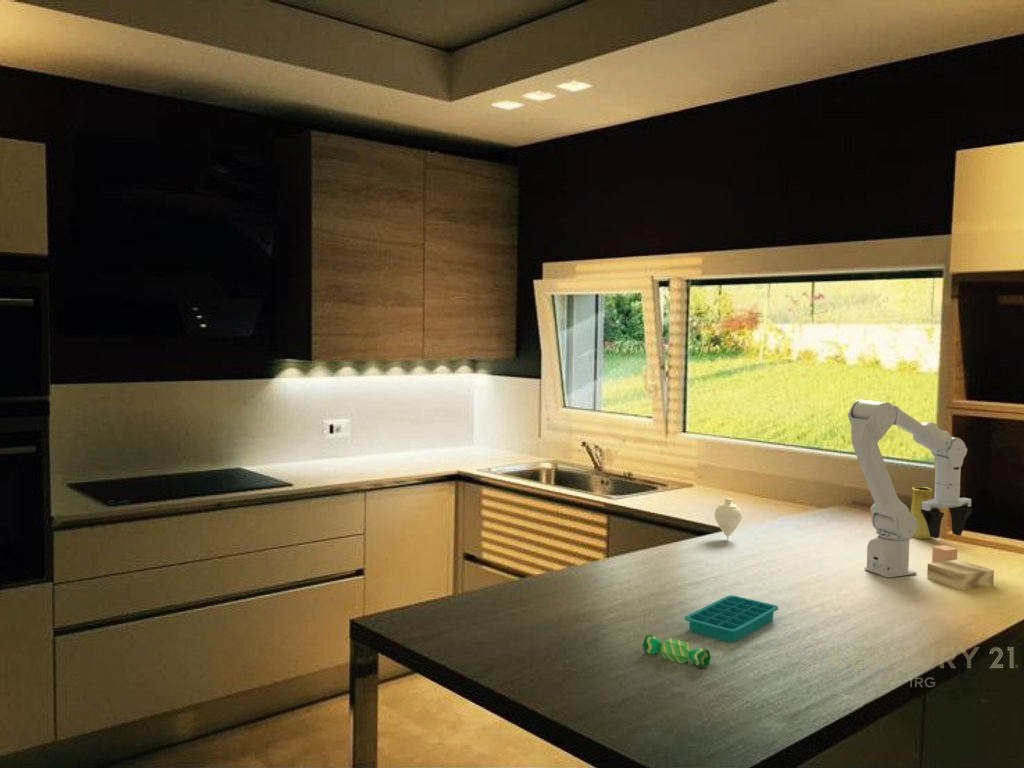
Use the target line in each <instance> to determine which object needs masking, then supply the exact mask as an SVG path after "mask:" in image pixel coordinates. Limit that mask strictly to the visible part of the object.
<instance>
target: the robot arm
mask: <svg viewBox="0 0 1024 768" xmlns="http://www.w3.org/2000/svg"><path fill="white" fill-rule="evenodd" d="M847 417H848V420H849V422H850V431H851V435H850V437H851V438H850V440H851V445H852V448H853V450H854V452H855V455H856V457H857V460H858V463H859V465H860V469H861V470H862V473H863V475H864V478H865V481H866V484H867V486H868V490H869V492H870V493H871V497H872V499H873V502H874V503H873V504H872V505H871V506H870V508H869V510H870V513H871V524H872V527H873V528H874V529H875V531H876V532H875V534H876V535H877V536H876V537H875V538H873V539H870V541H868V543H867V549H866V566H864V570H866V571H868V572H871V573H874V574H876V575H879V576H882V577H885V578H895V577H902V576H903V577H904V576H910V575H917V574H918V573H917V572H918V571H915V570H912V569H909V563H910V562H909V560H910V540H912V539H913V537H912V536H913V535H914V534H915V532H916V530H917V520H916V518H915V517H914V516H913V515H912V514H911V510H910V509H909V507H907V505H906V504H905V503H903V501H902V500H901V499H899V496H898V494H897V492H896V489H895V487H894V484H893V480H892V478H891V475H890V474H889V471H888V468H887V465H886V463H885V460H884V457H883V455H882V452H881V449H880V447H879V445H878V442H879V441H880V440H881V439H883V438H884V437H885V435H886V434H887V432H888V431H889V430H890V429H891V427H893V425H894V426H896V427H898V428H900V429H902V431H906V432H908V433H910V434H911V435H912V438H913V440H914V442H915V443H917V444H918V445H920V446H922V447H924V448H925V449H927V450H929V451H930V453H931V454H932V456H934V457H935V472H934V474H935V475H934V494H933V495H934V498H932V500H928V501H924V502H922V508H921V513H922V514H923V516H924V518H925V520H926V523H927V526H928V530H929V534H930V537H932V538H934V539H939V536H940V531H941V523H942V519H943V517H944V515H945V513H944V512H942V511H940V510H941V509H948V510H949V513H950V518H951V531H952V535H956V536H962V534H963V530H964V527H965V524H966V522H967V520H968V519H969V517H970V516H971V514H972V513H973V508H972V498H968V497H960V495H961V494H960V493H961V491H960V490H961V470H962V469H961V467H962V466H963V464H964V458H965V457H966V456H967V453H968V447H967V446H966V444H965V442H964V440H963V439H961V438H959V437H955V436H951V435H950V432H949V431H947V430H942V429H940V428H939V427H937V424H936V423H935V422H932V421H923V422H920V421H918V420H917V419H915V418H914V417H912V416H911V415H909V414H908V413H906V412H905V411H903V410H902V409H900V407H899V406H897V405H893V404H892V403H891V402H888V401H876V400H875V401H874V400H867V399H864V398H863V399H860V398H859V399H857V400H855V401H854V402H853V404H852V405H851V407H850V408H849V411H848V413H847Z"/></svg>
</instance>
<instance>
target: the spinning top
mask: <svg viewBox="0 0 1024 768" xmlns="http://www.w3.org/2000/svg"><path fill="white" fill-rule="evenodd" d="M724 501H725V502H723V503H721V504H719V505H718V506H717V507H716V509H715V510H714V519H715V521H716V523H717V525H718V527H719V528H720V530H721V531H722V533H723V534H724V535H725V537H726V540H729V537H730V536H731V535H732V534H733V533H734V532H735V530H736V529H737V528H738V527H739V525H740V523H741V521H742V517H743V513H742V510H741V508H740V507H739V506H738V505H737V504H734V503H733V498H732V497H726V498H724Z"/></svg>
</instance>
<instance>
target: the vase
mask: <svg viewBox="0 0 1024 768" xmlns="http://www.w3.org/2000/svg"><path fill="white" fill-rule="evenodd" d="M932 490H933V489H932V488H930V487H925V486H913V487H912V493H911V506H910V513H911V514H912V515H913V516H914V517H915V518H916V520H917V530H916V532H915V534H914V535H913V536H912V539H913V538H914V539H919V540H930V539H931V540H932V538H933V537H930V534H929V530H928V526H927V523H926V520H925V518H924V516H923V514H922V513H921V508H922V502H924V501H928V500H932V499H933V496H932V495H933V491H932Z"/></svg>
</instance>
